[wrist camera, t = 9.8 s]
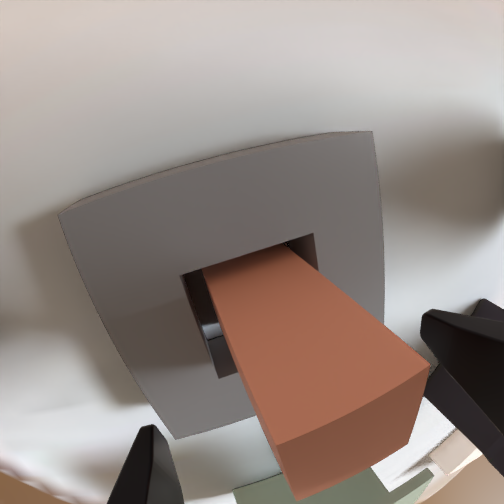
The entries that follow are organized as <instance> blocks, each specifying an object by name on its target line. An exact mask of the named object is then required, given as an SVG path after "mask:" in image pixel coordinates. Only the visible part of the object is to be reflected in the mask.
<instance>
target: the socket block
mask: <svg viewBox="0 0 504 504" xmlns="http://www.w3.org/2000/svg"><path fill="white" fill-rule="evenodd" d="M58 218H59V221H60V223H61V226H62V229H63V232H64V235H65V237H66V240H67V243H68V245H69V248H70V251H71V253H72V256H73V258H74V261H75V263H76V265H77V268H78V270H79V273H80V275H81V277H82V280H83V282H84V284H85V286H86V289H87V291H88V293H89V295H90V297H91V299H92V302H93V304H94V306H95V308H96V310H97V312H98V314H99V316H100V318H101V320H102V322H103V324H104V326H105V328H106V330H107V332H108V334H109V336H110V337H111V339H112V341H113V343H114V345H115V347H116V348H117V350H118V352H119V354H120V356H121V357H122V359H123V361H124V363H125V364H126V366H127V368H128V369H129V371H130V373H131V374H132V376H133V378H134V379H135V381H136V382H137V384H138V386H139V387H140V389H141V390H142V392H143V394H144V395H145V397H146V398H147V400H148V401H149V403H150V404H151V406H152V407H153V409H154V410H155V412H156V413H157V415H158V416H159V417H160V419H161V420H162V422H163V423H164V425H165V426H166V427H167V429H168V430H169V431H170V433H171V434H172V436H173V437H174V438H175V440H176V439H180V438H184V437H188V436H191V435H195V434H199V433H202V432H206V431H209V430H213V429H216V428H219V427H223V426H226V425H229V424H232V423H235V422H238V421H241V420H244V419H247V418H250V417H253V416H256V413H255V411H254V408H253V406H252V404H251V401H250V399H249V397H248V394H247V392H246V390H245V387H244V385H243V382H242V380H241V377H240V375H239V373H238V370H237V368H236V365H235V363H234V360H233V358H232V355H231V353H230V350H229V348H228V345H227V342H226V340H225V337H224V336H221V337H218V338H215V339H212V340H209V341H207V339H206V337H205V334H204V332H203V329H202V326H201V324H200V321H199V318H198V315H197V313H196V310H195V307H194V304H193V302H192V299H191V296H190V293H189V290H188V288H187V285H186V282H185V279H184V276H183V274H186V273H189V272H192V271H195V270H198V269H201V268H204V267H208V266H211V265H214V264H217V263H220V262H223V261H226V260H230V259H233V258H236V257H239V256H242V255H245V254H248V253H251V252H255V251H258V250H261V249H264V248H267V247H270V246H273V245H277V244H280V243H283V242H286V241H288V242H289V247H290V250H292V251H293V252H294V253H295V254H297V255H298V256H299V257H300V258H302V259H303V260H304V261H305V262H307V263H308V264H309V265H311V266H312V267H313V268H314V269H316V270H317V271H318V272H319V273H321V274H322V275H323V276H324V277H326V278H327V279H328V280H329V281H331V282H332V283H333V284H334V285H336V286H337V287H338V288H339V289H340V290H342V291H343V292H344V293H345V294H347V295H348V296H349V297H350V298H352V299H353V300H354V301H355V302H357V303H358V304H359V305H360V306H361V307H363V308H364V309H365V310H366V311H368V312H369V313H370V314H371V315H372V316H374V317H375V318H376V319H377V320H378V321H380V322H381V323H382V324H383V325H384V298H385V277H384V241H383V223H382V209H381V197H380V187H379V178H378V169H377V161H376V153H375V146H374V139H373V133H372V131H356V132H332V133H326V134H320V135H314V136H308V137H303V138H297V139H292V140H287V141H282V142H277V143H272V144H268V145H263V146H258V147H254V148H250V149H245V150H241V151H237V152H233V153H229V154H224V155H221V156H217V157H213V158H209V159H205V160H201V161H198V162H194V163H191V164H187V165H183V166H180V167H177V168H173V169H170V170H166V171H163V172H160V173H157V174H153V175H150V176H147V177H144V178H141V179H138V180H135V181H132V182H129V183H126V184H123V185H120V186H117V187H114V188H111V189H109V190H106V191H103V192H100V193H98V194H95V195H92V196H89V197H87V198H84V199H82V200H79V201H78V202H76V203H74V204H73V205H71V206H70V207H68V208H67V209H66V210H64V211H63V212H61V213H60V214H58Z"/></svg>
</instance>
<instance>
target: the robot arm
mask: <svg viewBox="0 0 504 504" xmlns="http://www.w3.org/2000/svg"><path fill="white" fill-rule="evenodd" d="M420 335H421V338H422V339H423V341H424V342H425V343H426V345H427V346H428V347H429V349H430V350H431V351H432V353H433V354H434V355H435V357H436V358H437V359H438V361H439V362H440V363H441V365H442V366H443V367H444V368H445V370H446V371H447V372H448V373H449V374H450V375H451V376H452V377H453V378H454V380H455V381H456V382H457V383H458V384H459V385H460V386H461V387H462V388H463V390H464V391H465V392H466V393H467V394H468V395H469V396H470V397H471V399H472V400H473V401H474V402H475V403H476V404H477V405H478V407H479V408H480V409H481V410H482V411H483V412H484V413H485V415H486V416H487V417H488V418H489V419H490V421H491V422H492V423H493V424H494V425H495V426H496V428H497V429H498V430H499V431H500V432H501V434H502V435H503V436H504V322H502V321H496V320H490V319H485V318H479V317H474V316H468V315H463V314H457V313H452V312H447V311H441V310H436V309H431V310H429V311H427V312H426V313H424V314H423V316H422V321H421V329H420ZM107 504H184V500H183V495H182V490H181V486H180V483H179V479H178V476H177V473H176V470H175V466H174V463H173V459H172V456H171V452H170V449H169V445H168V443H167V440H166V439H165V437H164V436H163V435H162V434H161V432H160V431H159V430H158V428H157V427H156V426H155V425H153V424H151V425H147V426H143V427H141V428H140V429H139V432H138V434H137V436H136V438H135V440H134V443H133V445H132V447H131V449H130V452H129V454H128V456H127V458H126V461H125V463H124V465H123V467H122V470H121V472H120V474H119V476H118V479H117V481H116V483H115V486H114V488H113V490H112V493H111V495H110V497H109V500H108V502H107Z"/></svg>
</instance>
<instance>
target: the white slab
mask: <svg viewBox="0 0 504 504" xmlns="http://www.w3.org/2000/svg"><path fill="white" fill-rule="evenodd" d="M482 454H483V453H482V452H481V451H480V450H479V449H478V448H477V447H476V446H475V445H474V444H473V443H472V442H471V441H470V440H468V439H467V438H466V437H465V436H464V435H463V434H462V433H461V432H460V431H459V430H458V429H457V430H456V431H455V432H454V433H453V434H452V435H451V436H449V437H448V438H447V439H446V440H445V441H444V442H443V443H442V444H441V445H440V446H439V447H437V448H436V449H435V450H434V451H433V452H432V453H431V454H429V456H430V458H431V459H432V460H433V461H434V462H435V463H436V464H437V465H438V467H439V468H440V469H441V470H442V471H443V472H444V473H445V474H446V476H448V475H450V474H451V473H453V472H455V471H457V470H458V469H460V468H462V467H463V466H465V465H467V464H468V463H470V462H471V461H473V460H474V459H476V458H478V457H479V456H481V455H482Z"/></svg>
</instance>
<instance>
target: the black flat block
mask: <svg viewBox="0 0 504 504" xmlns="http://www.w3.org/2000/svg"><path fill="white" fill-rule="evenodd" d="M472 316H474V317H479V318H485V319H490V320H496V321H502V322H504V309H502V308H500V307H499V306H497V305H495V304H494V303H492V302H490V301H488V300H487V299H482V300H481V301H480V302H479V304H478V306H477V307H476V309H475V311H474V313H473V314H472ZM423 395H424V396H425V397H426V398H427V399H428V400H429V401H430V402H431V403H432V404H433V405H434V406H435V407H436V408H437V409H438V410H439V411H440V412H441V413H442V414H443V415H444V416H445V417H446V418H447V419H448V420H449V421H450V422H451V423H452V424H453V425H454V426H455V427H456V428H457V429H458V430H459V431H460V432H461V433H462V434H463V435H464V436H465V437H466V438H467V439H468V440H470V441H471V442H472V443H473V444H474V445H475V446H476V447H477V448H478V449H479V450H480V451H481V452H482V453H483V454H484V456H485V457H486V458H487V460H488V461H489V462H490V463H491V464H492V465H493V466H494V467H495V468H496V469H497V470H498V471H499V472H500V474H501V475H503V477H504V436H503V435H502V434H501V432H500V431H499V430H498V429H497V428H496V426H495V425H494V424H493V423H492V422H491V421H490V419H489V418H488V417H487V416H486V415H485V413H484V412H483V411H482V410H481V409H480V408H479V407H478V405H477V404H476V403H475V402H474V401H473V400H472V399H471V397H470V396H469V395H468V394H467V393H466V392H465V391H464V390H463V388H462V387H461V386H460V385H459V384H458V383H457V382H456V381H455V380H454V378H453V377H452V376H451V375H450V374H449V373H448V372H447V371H446V370H445V368H444V367H443V366H442V365H441V363H440V364H439V366H438V367H437V368H436V370H435V371H434V372H433V374H432V375H431V376H430V377H429V379H428V380H427V382H426V386H425V390H424V393H423Z"/></svg>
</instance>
